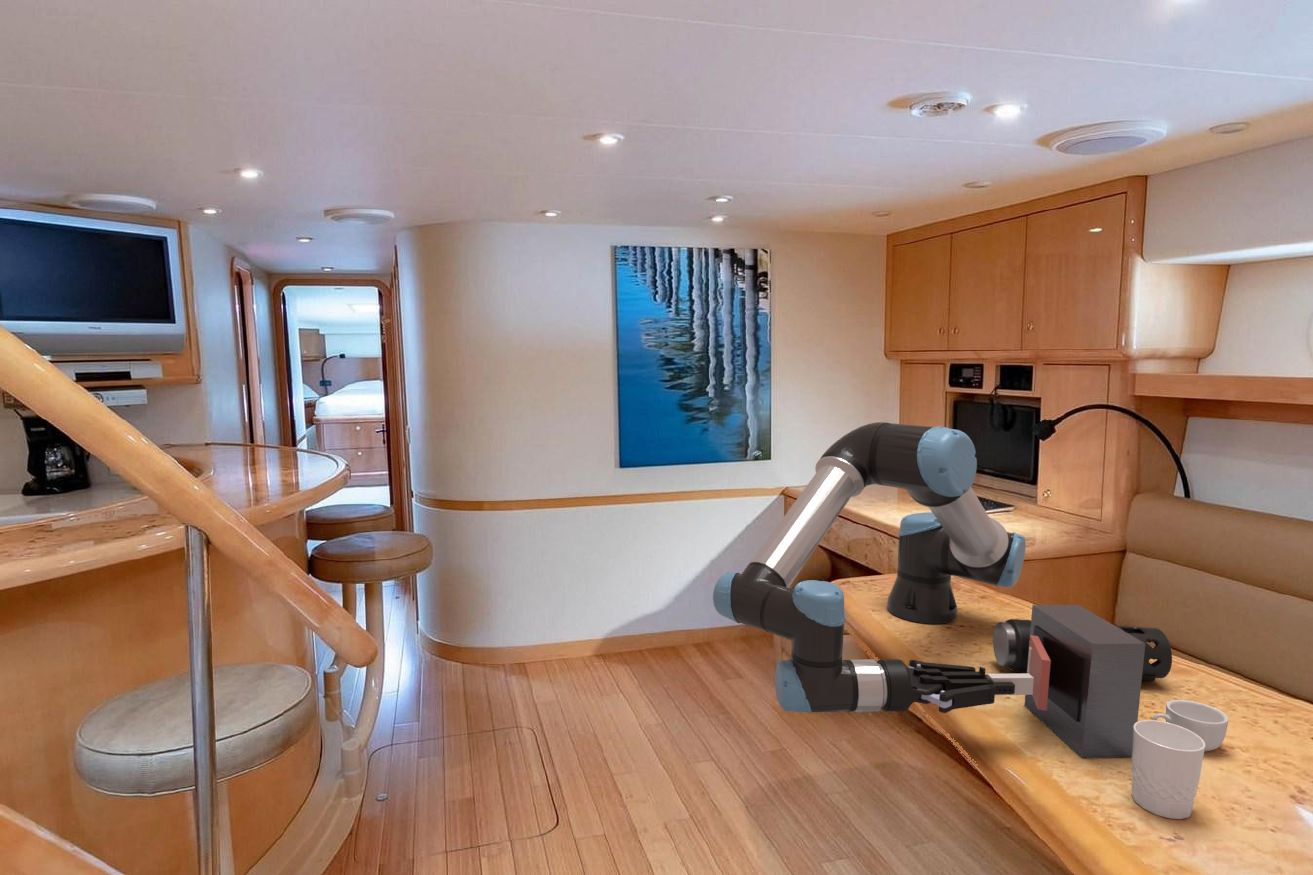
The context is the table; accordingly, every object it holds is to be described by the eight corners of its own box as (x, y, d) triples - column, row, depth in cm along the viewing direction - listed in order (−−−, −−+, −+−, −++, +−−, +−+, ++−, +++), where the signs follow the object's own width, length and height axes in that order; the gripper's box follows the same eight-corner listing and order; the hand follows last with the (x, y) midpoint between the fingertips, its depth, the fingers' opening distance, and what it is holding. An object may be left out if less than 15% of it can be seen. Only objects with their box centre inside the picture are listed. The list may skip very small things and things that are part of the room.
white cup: (1113, 787, 102) (1119, 720, 101) (1165, 785, 103) (1173, 718, 102) (1156, 824, 94) (1163, 752, 93) (1212, 821, 95) (1221, 749, 94)
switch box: (1022, 705, 125) (1030, 605, 123) (1069, 705, 126) (1078, 604, 123) (1080, 758, 109) (1090, 643, 107) (1133, 757, 110) (1145, 643, 107)
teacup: (1206, 733, 117) (1209, 701, 116) (1236, 759, 110) (1240, 725, 109) (1138, 727, 119) (1141, 696, 118) (1163, 753, 111) (1167, 720, 110)
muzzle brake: (1170, 693, 131) (1176, 638, 129) (1006, 683, 134) (1010, 629, 132) (1141, 670, 140) (1146, 618, 139) (989, 661, 143) (993, 610, 142)
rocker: (1024, 680, 121) (1028, 634, 120) (1034, 682, 121) (1038, 635, 120) (1036, 709, 112) (1040, 659, 111) (1046, 710, 112) (1050, 660, 110)
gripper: (863, 688, 118) (1006, 687, 119) (893, 731, 105) (1053, 729, 106) (866, 644, 117) (1010, 643, 118) (895, 681, 104) (1057, 680, 105)
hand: (1030, 683), depth 112 cm, fingers closed
